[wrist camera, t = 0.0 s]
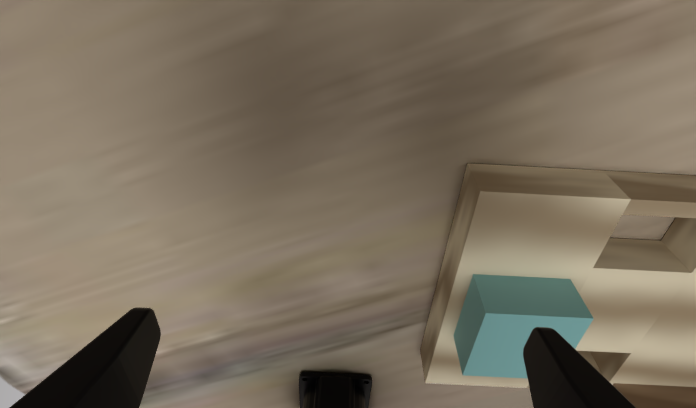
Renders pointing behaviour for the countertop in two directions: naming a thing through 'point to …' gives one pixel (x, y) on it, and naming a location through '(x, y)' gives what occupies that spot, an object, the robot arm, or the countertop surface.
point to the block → (514, 321)
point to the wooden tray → (580, 271)
